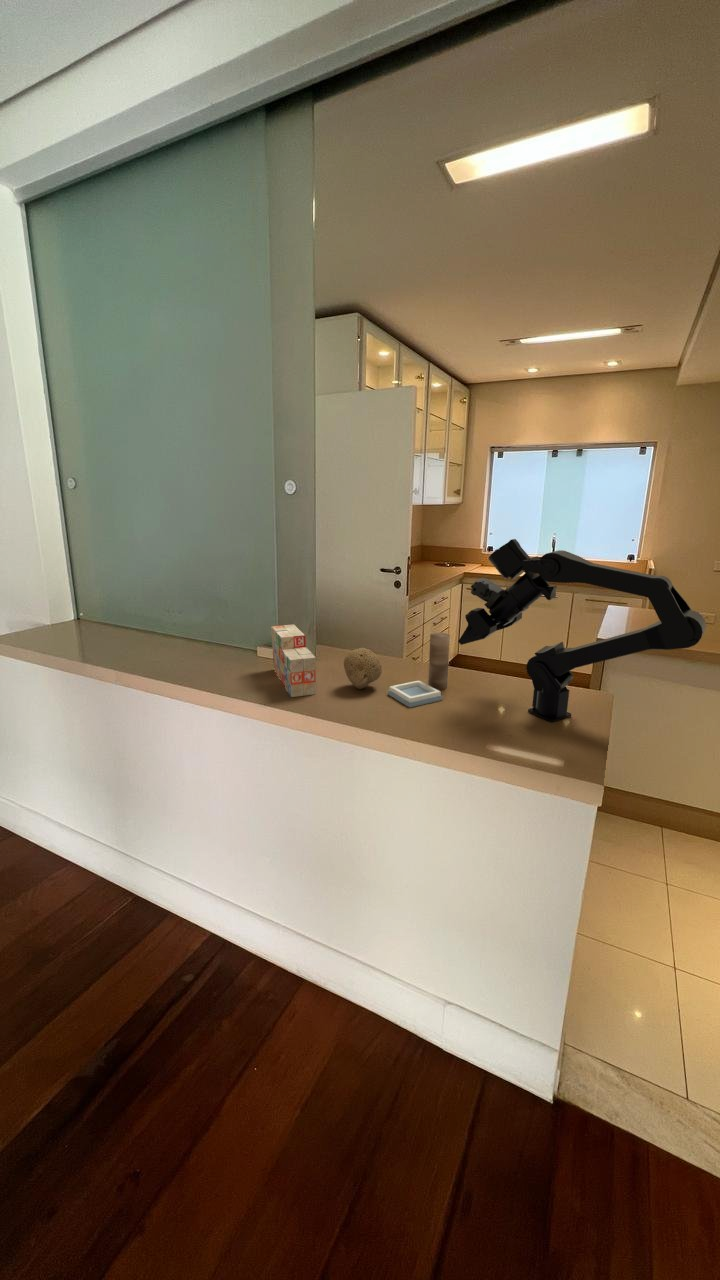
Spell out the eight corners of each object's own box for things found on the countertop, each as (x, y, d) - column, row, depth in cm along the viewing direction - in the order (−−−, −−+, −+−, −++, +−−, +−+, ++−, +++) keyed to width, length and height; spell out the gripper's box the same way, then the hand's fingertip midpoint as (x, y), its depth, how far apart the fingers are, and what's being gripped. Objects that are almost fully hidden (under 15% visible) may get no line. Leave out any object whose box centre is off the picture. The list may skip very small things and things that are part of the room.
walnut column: (451, 687, 125) (453, 636, 122) (435, 691, 123) (438, 638, 119) (439, 681, 129) (441, 631, 125) (424, 685, 127) (426, 634, 123)
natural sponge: (375, 680, 130) (375, 642, 127) (386, 692, 122) (387, 652, 119) (340, 683, 128) (340, 644, 125) (349, 696, 120) (349, 655, 117)
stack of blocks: (316, 694, 121) (315, 644, 118) (290, 698, 119) (288, 647, 115) (295, 667, 140) (294, 623, 137) (272, 669, 138) (270, 625, 135)
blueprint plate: (442, 699, 118) (442, 691, 117) (409, 707, 113) (409, 699, 113) (419, 687, 125) (419, 679, 125) (387, 694, 121) (387, 686, 120)
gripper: (512, 562, 117) (466, 604, 127) (476, 572, 103) (427, 618, 113) (544, 600, 115) (494, 640, 124) (511, 615, 101) (458, 659, 110)
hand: (469, 638), depth 118 cm, fingers open, 9 cm apart
